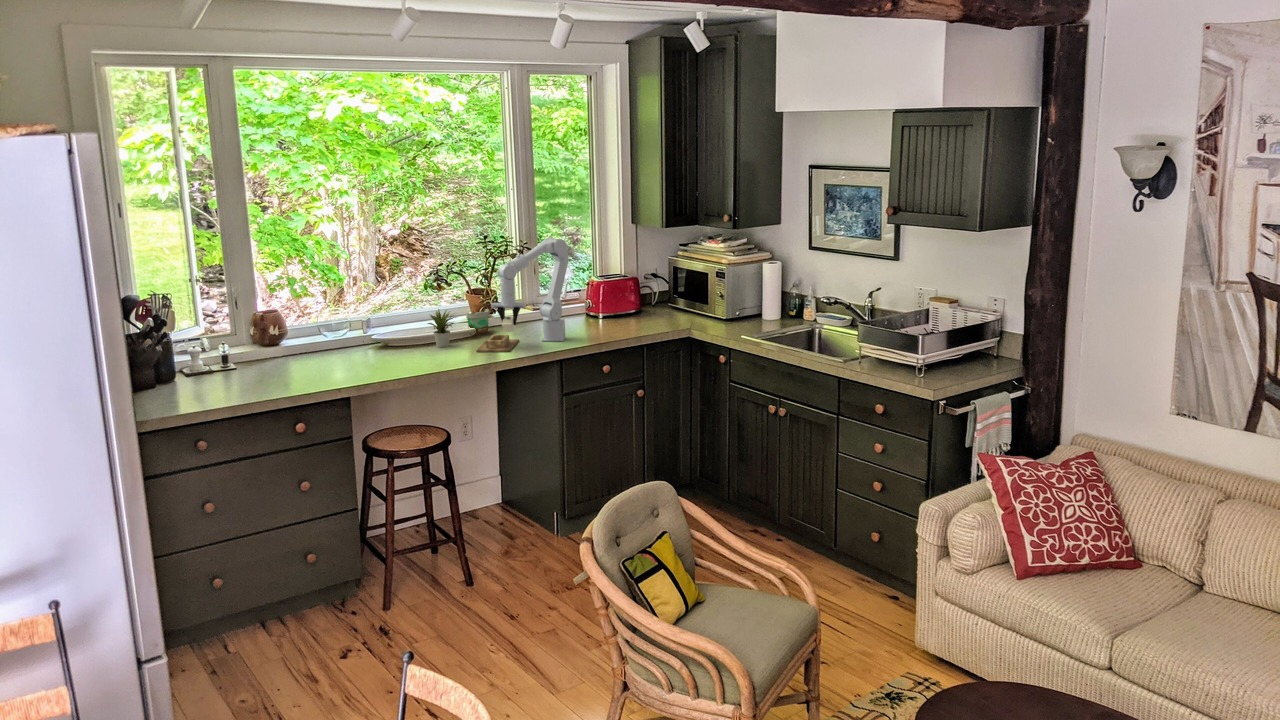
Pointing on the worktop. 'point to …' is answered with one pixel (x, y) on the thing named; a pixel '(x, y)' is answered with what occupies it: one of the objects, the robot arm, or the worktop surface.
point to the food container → (479, 321)
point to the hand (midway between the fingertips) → (509, 324)
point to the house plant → (442, 328)
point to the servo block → (508, 324)
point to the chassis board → (498, 344)
